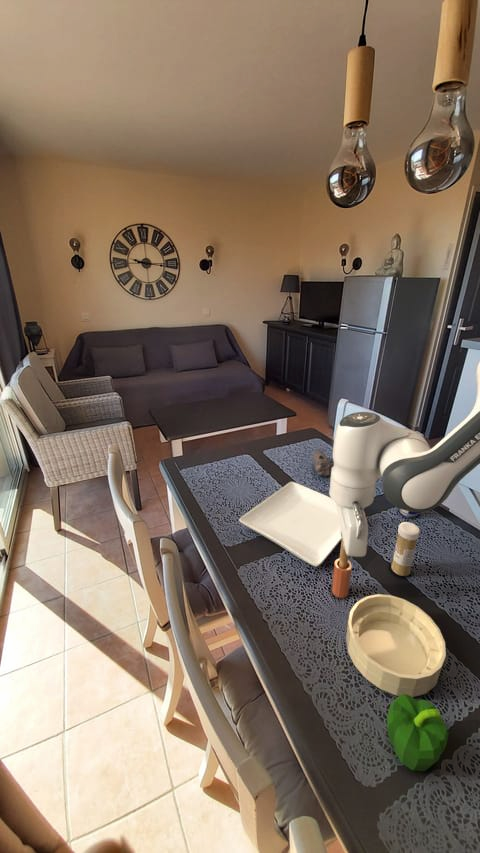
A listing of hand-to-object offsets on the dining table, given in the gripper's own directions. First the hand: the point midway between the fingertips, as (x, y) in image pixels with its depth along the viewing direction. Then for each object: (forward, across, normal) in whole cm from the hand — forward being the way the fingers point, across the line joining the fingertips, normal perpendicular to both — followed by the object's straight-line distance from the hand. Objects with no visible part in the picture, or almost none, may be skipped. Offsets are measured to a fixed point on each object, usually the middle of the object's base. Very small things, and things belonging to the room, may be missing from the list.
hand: (345, 541), depth 79 cm
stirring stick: (+15, 0, 0) cm, 15 cm away
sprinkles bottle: (+15, +8, -16) cm, 24 cm away
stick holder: (+15, 0, 0) cm, 15 cm away
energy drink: (+15, +32, -25) cm, 43 cm away
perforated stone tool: (+15, +56, 0) cm, 58 cm away
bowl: (+15, -14, -8) cm, 22 cm away
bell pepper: (+15, -30, -7) cm, 34 cm away
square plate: (+15, +23, +8) cm, 29 cm away
